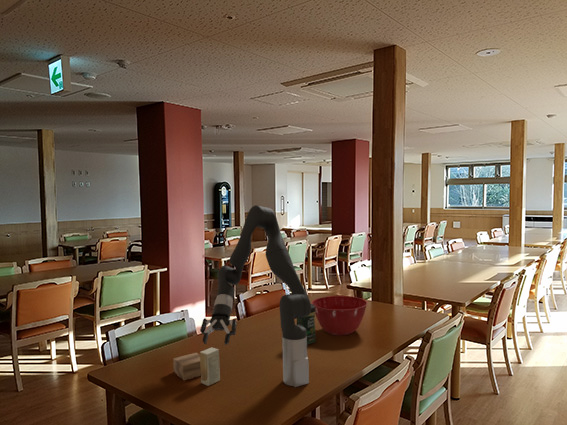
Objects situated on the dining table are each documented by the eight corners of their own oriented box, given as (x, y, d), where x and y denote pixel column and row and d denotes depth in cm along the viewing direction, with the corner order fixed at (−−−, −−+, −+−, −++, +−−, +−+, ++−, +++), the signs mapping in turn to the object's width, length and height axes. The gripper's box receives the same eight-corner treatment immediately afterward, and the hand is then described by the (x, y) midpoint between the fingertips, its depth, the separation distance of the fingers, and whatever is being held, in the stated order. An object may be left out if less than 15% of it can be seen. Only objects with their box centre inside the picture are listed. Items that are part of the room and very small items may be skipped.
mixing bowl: (338, 344, 199) (338, 312, 198) (301, 330, 222) (300, 301, 221) (379, 332, 216) (378, 302, 215) (340, 320, 239) (339, 293, 238)
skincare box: (213, 377, 165) (212, 346, 164) (220, 380, 162) (219, 349, 162) (200, 383, 160) (199, 351, 159) (207, 386, 157) (206, 354, 157)
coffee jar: (304, 347, 196) (304, 307, 196) (293, 343, 202) (292, 304, 202) (319, 342, 203) (318, 303, 202) (307, 338, 209) (306, 301, 208)
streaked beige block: (207, 374, 169) (206, 359, 169) (183, 381, 163) (183, 365, 163) (196, 366, 177) (196, 352, 177) (173, 372, 171) (173, 358, 171)
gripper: (204, 302, 177) (195, 338, 166) (237, 303, 175) (230, 339, 164) (208, 311, 182) (200, 347, 171) (240, 312, 180) (234, 348, 169)
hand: (215, 343), depth 168 cm, fingers open, 8 cm apart
